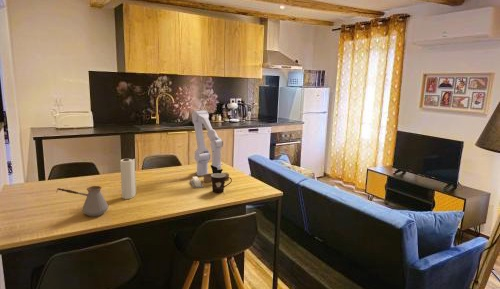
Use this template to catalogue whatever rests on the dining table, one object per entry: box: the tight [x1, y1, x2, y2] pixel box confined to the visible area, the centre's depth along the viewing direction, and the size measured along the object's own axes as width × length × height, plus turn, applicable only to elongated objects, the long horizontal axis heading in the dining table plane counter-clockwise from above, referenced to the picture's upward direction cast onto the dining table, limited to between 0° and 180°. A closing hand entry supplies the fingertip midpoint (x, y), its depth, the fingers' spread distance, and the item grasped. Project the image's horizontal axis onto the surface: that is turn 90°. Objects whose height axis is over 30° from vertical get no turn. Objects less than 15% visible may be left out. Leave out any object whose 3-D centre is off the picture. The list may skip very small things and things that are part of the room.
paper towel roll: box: [119, 158, 137, 200], centre depth 178 cm, size 7×6×21 cm
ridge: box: [189, 175, 205, 189], centre depth 206 cm, size 14×6×3 cm, turn 20°
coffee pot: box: [55, 185, 109, 217], centre depth 155 cm, size 21×12×15 cm, turn 120°
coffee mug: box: [211, 172, 233, 194], centre depth 193 cm, size 12×9×10 cm
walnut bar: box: [203, 172, 230, 183], centre depth 215 cm, size 4×16×4 cm, turn 110°
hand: (216, 177), depth 215 cm, fingers open, 7 cm apart
